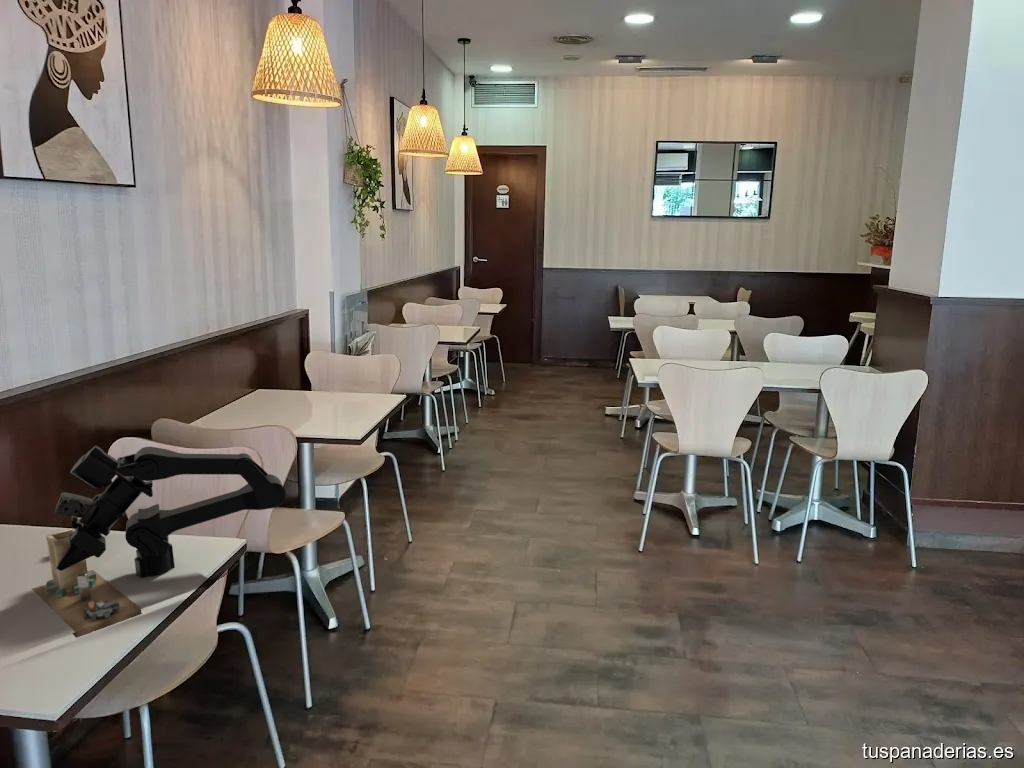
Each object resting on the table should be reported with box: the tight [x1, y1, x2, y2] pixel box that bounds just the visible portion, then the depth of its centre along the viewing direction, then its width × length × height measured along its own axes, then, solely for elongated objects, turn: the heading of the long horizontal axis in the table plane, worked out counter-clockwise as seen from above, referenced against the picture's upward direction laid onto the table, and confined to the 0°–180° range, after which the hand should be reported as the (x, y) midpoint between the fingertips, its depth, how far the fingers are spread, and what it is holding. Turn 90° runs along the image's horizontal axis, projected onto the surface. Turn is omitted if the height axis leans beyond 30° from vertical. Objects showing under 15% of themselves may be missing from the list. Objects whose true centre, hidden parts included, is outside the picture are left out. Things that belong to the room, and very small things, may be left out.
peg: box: [77, 573, 91, 601], centre depth 147 cm, size 2×2×5 cm
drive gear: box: [83, 600, 119, 621], centre depth 141 cm, size 6×6×3 cm
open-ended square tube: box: [45, 528, 97, 597], centre depth 151 cm, size 9×9×11 cm
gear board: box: [32, 569, 142, 639], centre depth 148 cm, size 11×25×1 cm, turn 47°
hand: (59, 562), depth 151 cm, fingers closed on open-ended square tube, 6 cm apart
